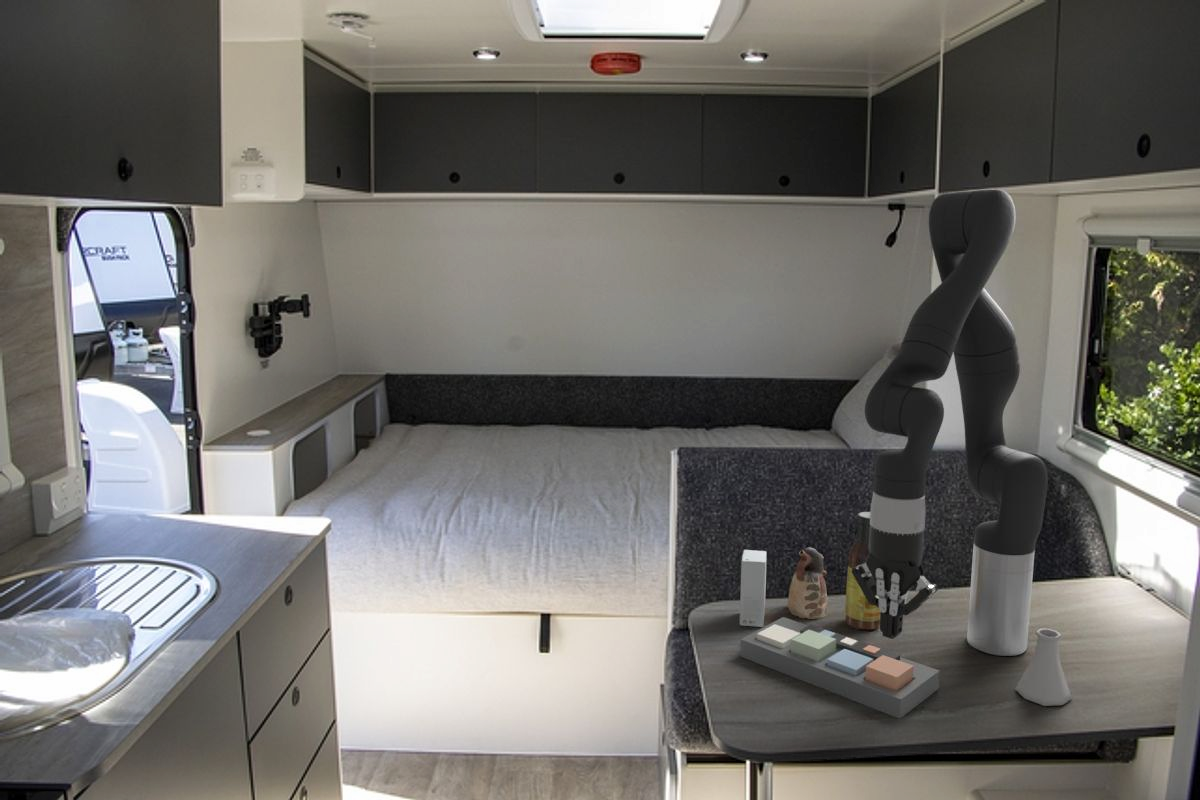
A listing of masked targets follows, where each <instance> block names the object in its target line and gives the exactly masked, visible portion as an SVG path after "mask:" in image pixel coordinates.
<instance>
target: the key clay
mask: <svg viewBox="0 0 1200 800" xmlns="http://www.w3.org/2000/svg"><path fill="white" fill-rule="evenodd" d="M913 669H914V666H913V665H910V664H907V663H904V662H902V661H899V660H896V659H893V658H890V657H887V656H884V655H882V656H881V657H879V658H878V659H876V660H874V661H873V662H871V663H870V664H868V665H867V666H866V674H865V680H867V681H870V682H873V683H875V684H878V685H881V686H884V687H886V688H889V689H892V690H894V691H897V692H898V691H899V690H900V689H902V688H903V687H904V686H906V685H907V684H908V683H910V682H911V681H913Z"/></svg>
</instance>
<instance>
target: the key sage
mask: <svg viewBox="0 0 1200 800" xmlns="http://www.w3.org/2000/svg"><path fill="white" fill-rule="evenodd" d="M791 652H792V653H794V654H797V655H800V656H802V657H805V658H808V659H811V660H813V661H816V662H821V661H823V660H824V659H826V658H827V657H829V656H831V655H832V654H834V653H836V639H835V638H832V637H829V636H826V635H823V634H820V633H818V632H815V631H812V630H807V631H805V632H804V633H802V634H800V635H798V636H796V637H795V638H793V639H791Z"/></svg>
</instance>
